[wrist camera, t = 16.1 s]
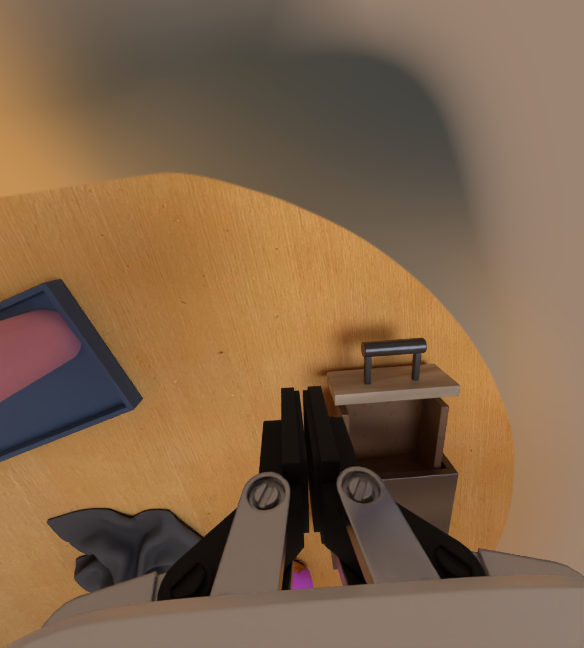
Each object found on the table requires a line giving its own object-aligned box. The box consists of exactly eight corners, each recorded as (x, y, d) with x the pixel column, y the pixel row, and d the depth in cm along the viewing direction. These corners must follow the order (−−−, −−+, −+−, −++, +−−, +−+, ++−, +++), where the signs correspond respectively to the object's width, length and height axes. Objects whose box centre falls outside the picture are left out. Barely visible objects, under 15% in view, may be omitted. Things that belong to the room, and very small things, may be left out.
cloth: (219, 518, 38) (208, 569, 33) (193, 600, 44) (179, 656, 38) (49, 487, 36) (4, 537, 30) (43, 579, 41) (4, 637, 35)
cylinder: (11, 311, 28) (-129, 350, 18) (71, 306, 28) (-37, 344, 18) (32, 364, 30) (-85, 425, 20) (88, 360, 30) (-1, 419, 20)
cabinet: (322, 439, 35) (332, 484, 29) (427, 431, 35) (458, 473, 29) (324, 516, 39) (333, 570, 33) (418, 508, 40) (444, 559, 33)
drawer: (325, 334, 30) (334, 352, 25) (438, 326, 30) (467, 342, 25) (328, 458, 35) (336, 492, 30) (424, 450, 35) (445, 483, 31)
